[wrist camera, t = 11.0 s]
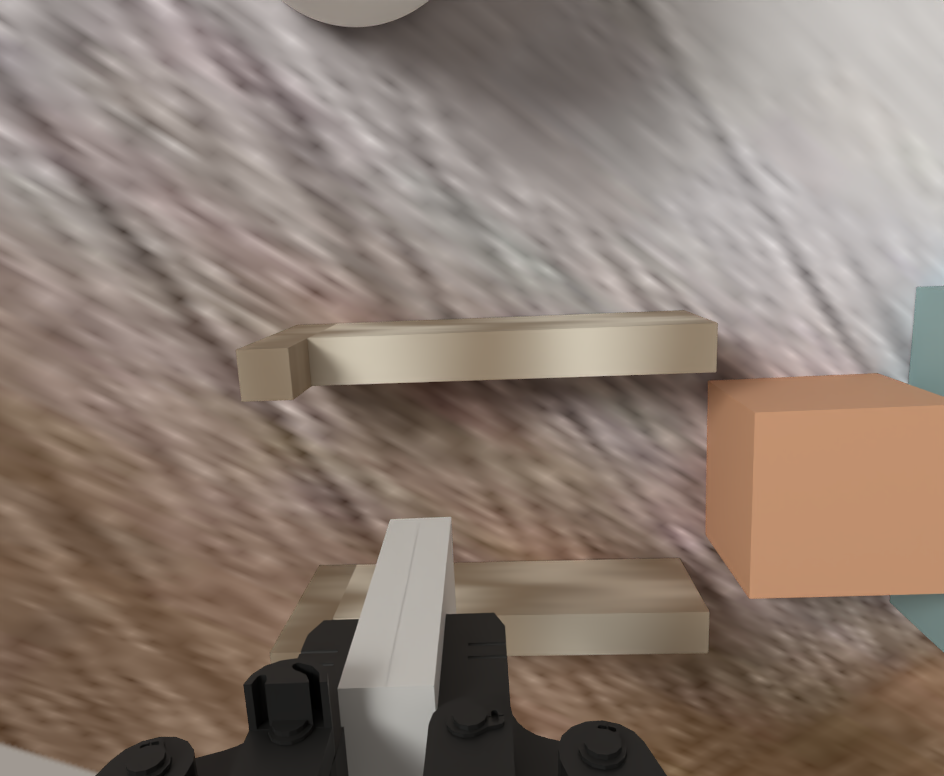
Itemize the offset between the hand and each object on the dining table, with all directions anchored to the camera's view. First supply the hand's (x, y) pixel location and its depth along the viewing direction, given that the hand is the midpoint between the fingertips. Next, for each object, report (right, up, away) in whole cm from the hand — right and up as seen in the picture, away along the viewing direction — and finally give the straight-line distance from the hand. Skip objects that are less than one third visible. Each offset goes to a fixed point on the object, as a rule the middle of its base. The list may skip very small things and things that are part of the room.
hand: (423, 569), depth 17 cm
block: (+13, +2, +9) cm, 16 cm away
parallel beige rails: (+2, +2, +9) cm, 10 cm away
